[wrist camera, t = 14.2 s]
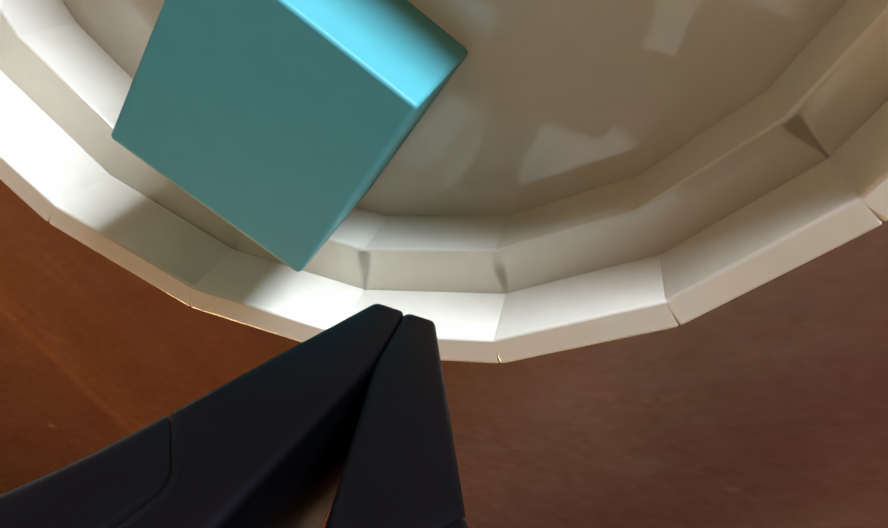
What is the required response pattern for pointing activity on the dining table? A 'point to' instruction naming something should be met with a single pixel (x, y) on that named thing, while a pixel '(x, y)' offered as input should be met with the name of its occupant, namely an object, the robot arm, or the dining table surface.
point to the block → (283, 107)
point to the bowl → (501, 168)
